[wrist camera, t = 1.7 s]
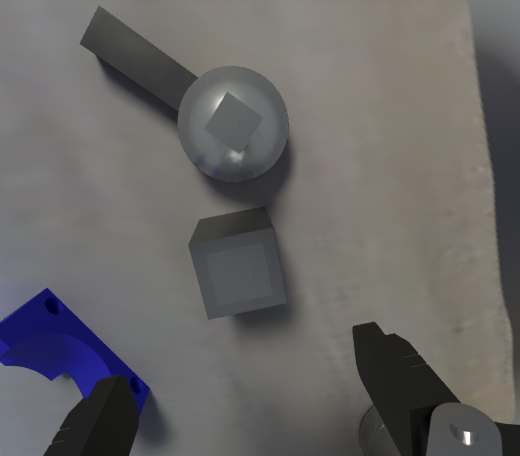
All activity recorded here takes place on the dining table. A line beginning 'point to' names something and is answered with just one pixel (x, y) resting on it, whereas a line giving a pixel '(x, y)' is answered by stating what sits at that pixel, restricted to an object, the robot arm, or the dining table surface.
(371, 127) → the dining table surface
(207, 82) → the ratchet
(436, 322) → the dining table surface
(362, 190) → the dining table surface
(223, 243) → the grey paneled cube
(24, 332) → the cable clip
